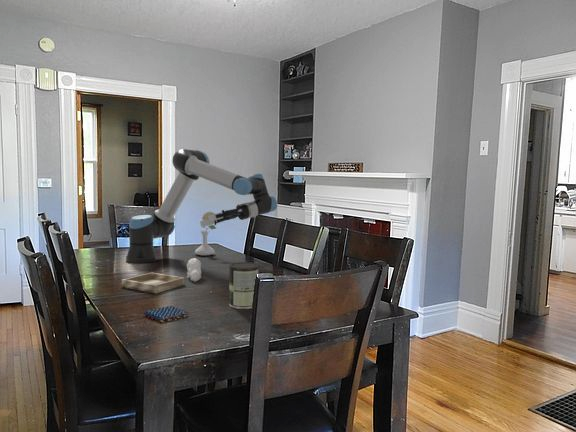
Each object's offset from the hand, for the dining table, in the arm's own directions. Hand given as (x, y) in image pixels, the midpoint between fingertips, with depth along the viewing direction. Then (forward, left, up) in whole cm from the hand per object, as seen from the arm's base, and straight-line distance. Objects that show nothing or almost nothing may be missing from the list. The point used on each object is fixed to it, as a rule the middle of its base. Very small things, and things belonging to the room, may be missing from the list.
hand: (204, 221), depth 197 cm
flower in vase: (-30, +39, -24) cm, 55 cm away
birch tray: (-3, -29, -24) cm, 38 cm away
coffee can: (+42, -32, -24) cm, 58 cm away
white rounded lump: (+3, -11, -24) cm, 27 cm away
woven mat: (+28, -55, -25) cm, 67 cm away
